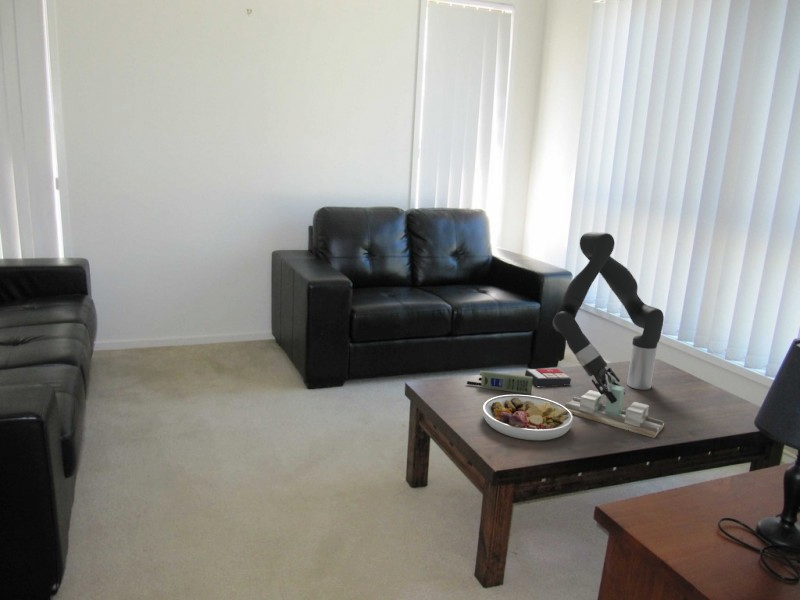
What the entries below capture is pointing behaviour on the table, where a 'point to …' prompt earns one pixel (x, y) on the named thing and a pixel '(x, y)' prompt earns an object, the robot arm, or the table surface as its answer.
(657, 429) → the rail board
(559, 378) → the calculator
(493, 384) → the handheld radio
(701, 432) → the table surface
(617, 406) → the sage module
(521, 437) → the bowl
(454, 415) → the table surface
